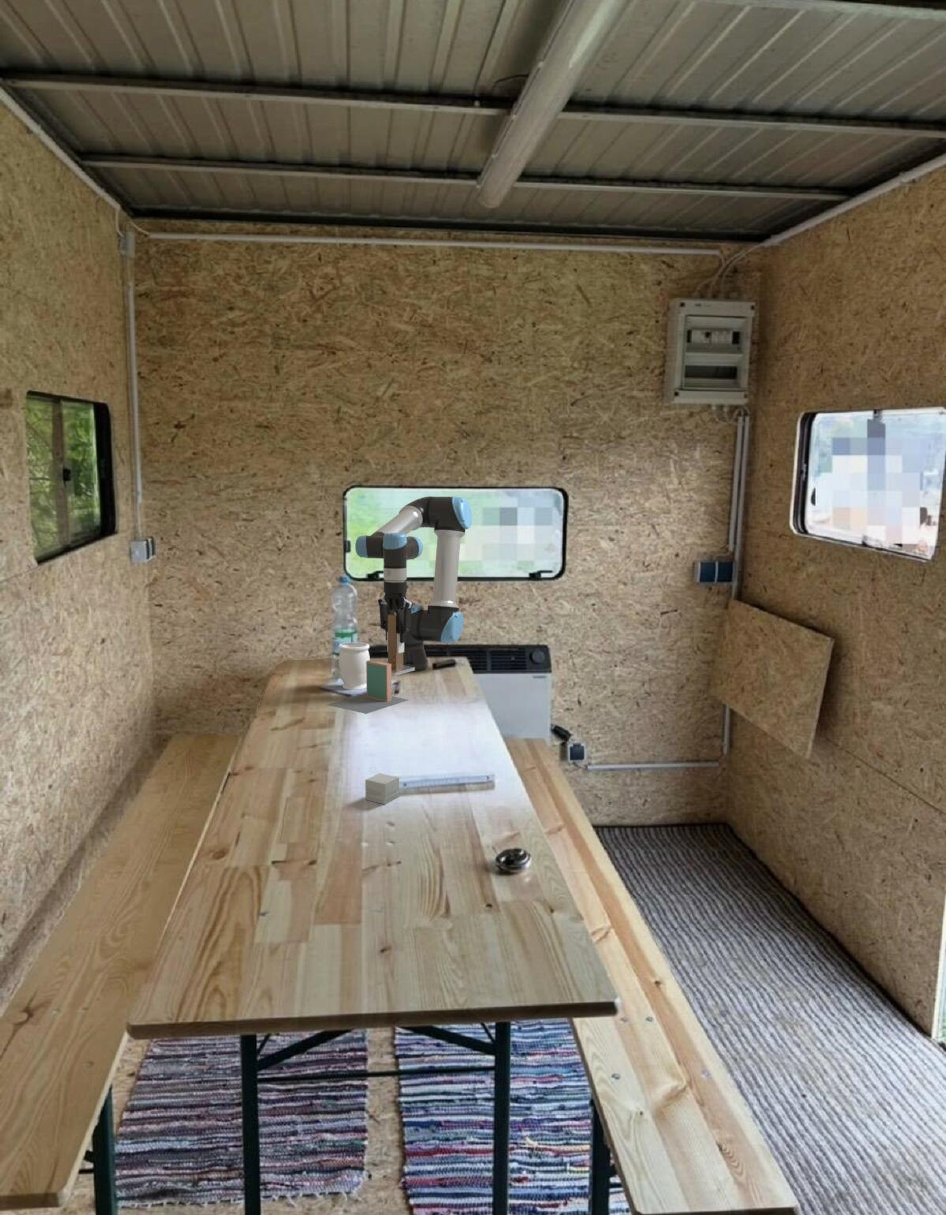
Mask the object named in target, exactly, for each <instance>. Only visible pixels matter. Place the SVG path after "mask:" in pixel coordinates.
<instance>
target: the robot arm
mask: <svg viewBox="0 0 946 1215" xmlns="http://www.w3.org/2000/svg"><path fill="white" fill-rule="evenodd" d="M472 514H473V513H472V509H471V505H470V502H469V501H468V499H466V498H465V497H462V496H461V497H459V496H430V495H428V496H424V497H420V498H418V499H415V500H412V501H411V502H409V503H406V504H405V505H404V506H403V507H402V508H401V509H400V510H399V511H398V513H397V514H396V516H394V517H393V518H392V519H390V520H389V521H388V522H386V523H385V524H384V525H382V526H381V527H379V528H378V529H377V530H376V531H374V532H373V533H372V534H370V535H367V534H366V535H359V536H358V537H357V539H355V540H356V541H355V545H354V546H355V547H354V548H355V553H356V555H357V556H358V557H360V558H365V559H382V560H383V569H382V570H383V580H384V582H383V593H384V596H383V598H378V599H377V603H378V606H379V623H380V629H382V630H384V631H385V642H386V647H387V648H386V649H387V650H386V651H387V652H388V614H394V613H396V615H397V623H398V630H399V632H397V653H402V652H403V665H405V666H410V667H415V670H414V671H413V672H417V671H422V670H425V669H427V668H429V660H428V658H427V654H426V650H425V647H424V642H433V643H440V644H441V643H442V644H446V643H447V644H448V643H449V644H453V643H456V642H457V641H458V640H459V639H460V637H461V634H462V631H463V629H464V622H465V618H464V614H463V612H461V611H460V606H459V605H458V604H457V602H456V601H457V600H456V599H457V588H458V576H459V575H458V573H459V563H460V562H459V561H460V548H461V539H462V537H464V536H465V535H466V530H468V529H470V528H471V526H472V522H473V515H472ZM421 528H433V532H434V534H435V535H436V537H437V540H436V550H435V551H436V552H435V563H434V575H433V586H432V587H433V588H432V589H433V590H432V600H431V602H429V603H428V604H427V609H425V607H424V606H423V605H421V604H414V602H413V601H409V600H408V599H407V595H406V594H407V591H408V589H407V588H408V585H407V584H408V582H407V581H406V580H408V576H407V574H408V573H407V572H408V570H407V569H408V568H407V566H408V564H407V562H408V561H409V560H415V559H417V558H418V557H420V556H421V554H422V553H423V550H424V545H423V542H422V540H421V539H420V538H418V536H417V537H416V536H409V535H408V534H409V533H410V532H413V531H416V530H418V529H421ZM407 535H408V536H407Z"/></svg>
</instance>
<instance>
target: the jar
mask: <svg viewBox="0 0 946 1215" xmlns="http://www.w3.org/2000/svg"><path fill="white" fill-rule="evenodd" d="M338 648H339V650H340V652H339V655H338V666H339V667H338V668H339V672H340V677H341V680H342V682H343V685H342V688H343V689H345V690H354V691H356V690H365V689H367V681H366V661H369V660H371V659H370V652H369V649H370V644H369V643H367V642H357V641H355V642H354V641H353V642H343V643H340V644H339V645H338Z"/></svg>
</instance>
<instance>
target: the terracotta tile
mask: <svg viewBox="0 0 946 1215" xmlns="http://www.w3.org/2000/svg"><path fill="white" fill-rule="evenodd" d="M366 685H367V687H366V693H367V697H368V698H372V699H377V700H382V701H386V702H388V701H391V700H392V696H393V692H392V675H391V664H389V663H388V662H381V661H378V660H377V661H376V660H371V659H370V660H369V661H366Z"/></svg>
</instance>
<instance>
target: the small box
mask: <svg viewBox="0 0 946 1215" xmlns="http://www.w3.org/2000/svg"><path fill="white" fill-rule="evenodd" d="M364 783H365V800H366V801H369V802H375V803H376V804H377V803H378V804H382V805H387V804H389V803H390V802H393V801H394V800H396V799H399V797H400V777H399V776H394V775H389V774H385V773H382V772H381V773H377V774H374V775H373V776H371V777H369V778H367V779H365V782H364Z"/></svg>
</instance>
